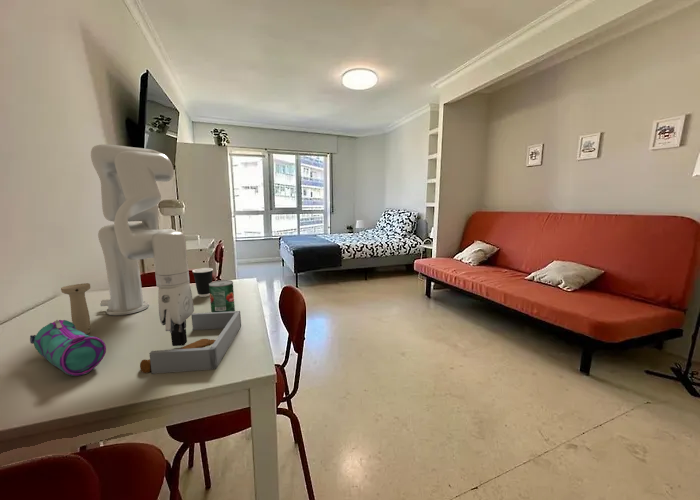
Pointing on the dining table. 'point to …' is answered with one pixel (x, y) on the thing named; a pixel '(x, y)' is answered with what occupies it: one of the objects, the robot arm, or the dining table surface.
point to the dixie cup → (203, 280)
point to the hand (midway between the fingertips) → (179, 344)
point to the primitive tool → (146, 364)
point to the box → (199, 356)
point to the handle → (78, 306)
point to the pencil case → (69, 347)
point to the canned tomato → (222, 296)
